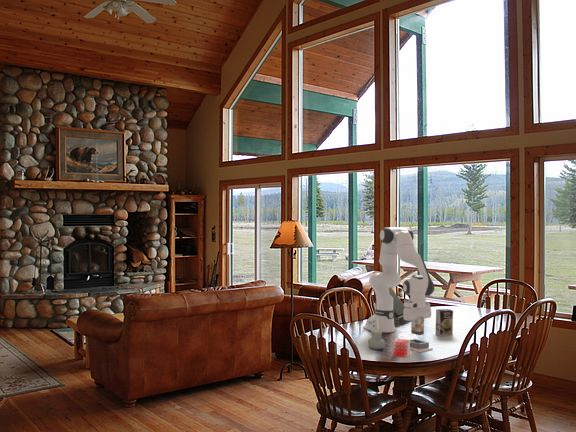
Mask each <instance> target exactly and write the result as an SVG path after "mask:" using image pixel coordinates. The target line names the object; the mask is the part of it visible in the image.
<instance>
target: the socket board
mask: <svg viewBox="0 0 576 432" xmlns="http://www.w3.org/2000/svg"><path fill="white" fill-rule="evenodd" d="M409 340H410V350H411V351H414V352H418V353H422V352H427V351H432V350H434V347H432V346H431V347H430V342H429V341H425V340H422V339H418V338H413V339H409Z"/></svg>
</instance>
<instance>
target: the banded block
mask: <svg viewBox="0 0 576 432" xmlns="http://www.w3.org/2000/svg"><path fill="white" fill-rule="evenodd" d="M415 324H416V327H415V328H414V327H412V323H411V325H410V328H411V331H410V332H411V334H412V335H416V336H423V335H424V334H425V318H424V317H418V319H417V320H415Z"/></svg>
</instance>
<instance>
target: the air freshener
mask: <svg viewBox="0 0 576 432" xmlns="http://www.w3.org/2000/svg"><path fill="white" fill-rule="evenodd" d="M382 336H383V332H381V331H378V330H374V331H371V338H369V339H368V341H367V344H368V348H370V349H372V350H379V351H380V350H382V349H384V348H385V347H386V340H385V339H383V337H382Z"/></svg>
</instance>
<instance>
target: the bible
mask: <svg viewBox="0 0 576 432" xmlns="http://www.w3.org/2000/svg"><path fill="white" fill-rule="evenodd" d="M389 293H390V295H391V296H392V297H393V310H394V315H393V317H394V326H395V327H401V326H403V325H406V324H407V323H409V322H411V321H406V320H404V318H403V312H404V308H405V307H404V303H403V302H402V300H401V299H400V297H399V296H398V294H397V293H396V292H395V291H394V288H389Z"/></svg>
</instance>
